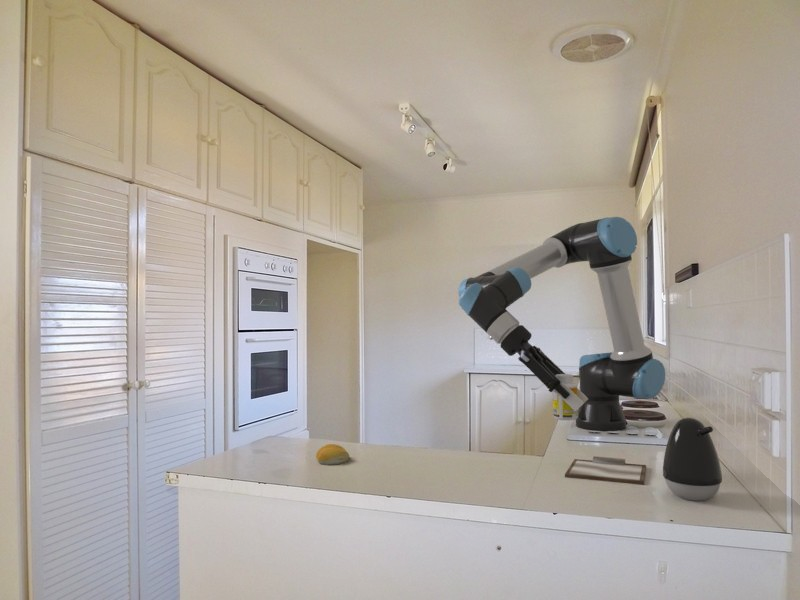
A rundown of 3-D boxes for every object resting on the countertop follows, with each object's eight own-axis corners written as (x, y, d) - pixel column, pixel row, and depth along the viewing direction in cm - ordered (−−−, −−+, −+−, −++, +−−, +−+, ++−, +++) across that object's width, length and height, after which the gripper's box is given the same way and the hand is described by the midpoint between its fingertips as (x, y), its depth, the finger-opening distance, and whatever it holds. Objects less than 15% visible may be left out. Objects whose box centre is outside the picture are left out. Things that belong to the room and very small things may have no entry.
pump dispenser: (691, 508, 103) (688, 424, 103) (652, 491, 113) (649, 415, 113) (736, 502, 105) (733, 420, 106) (694, 486, 115) (691, 411, 116)
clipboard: (574, 461, 137) (574, 454, 137) (646, 467, 130) (646, 460, 130) (564, 476, 124) (564, 469, 124) (643, 484, 118) (643, 476, 118)
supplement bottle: (582, 418, 132) (581, 374, 132) (571, 421, 128) (569, 376, 128) (560, 415, 135) (559, 373, 136) (549, 419, 131) (547, 375, 132)
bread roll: (319, 467, 139) (318, 450, 139) (314, 458, 147) (314, 443, 147) (352, 464, 141) (352, 447, 141) (345, 455, 149) (345, 440, 150)
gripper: (510, 343, 147) (577, 409, 139) (488, 348, 131) (562, 423, 123) (529, 322, 145) (599, 388, 137) (509, 324, 128) (587, 400, 121)
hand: (581, 404), depth 130 cm, fingers closed on supplement bottle, 5 cm apart
